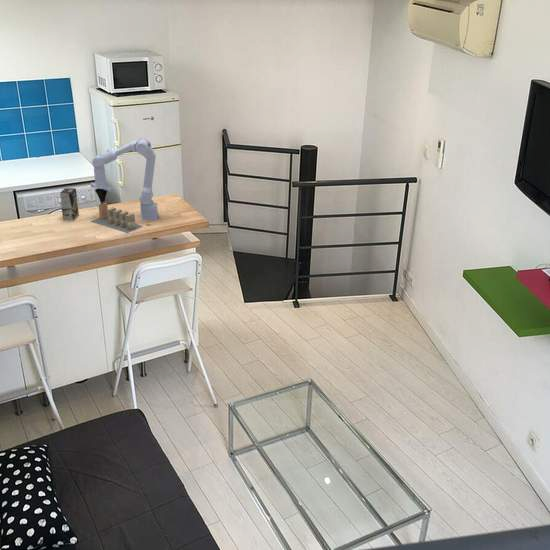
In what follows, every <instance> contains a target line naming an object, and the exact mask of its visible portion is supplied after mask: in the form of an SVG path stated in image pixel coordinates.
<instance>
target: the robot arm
mask: <svg viewBox="0 0 550 550" xmlns="http://www.w3.org/2000/svg"><path fill="white" fill-rule="evenodd" d="M130 152H132V153H137V154H139V155H141V156H143V157H144V159H146V161H145V162H146V163H145V170H144V171H145V172H144V177H143V178H144V179H143V185H142V186H143V188H142V191H141V194H140V197H139V204H140V218H139V220H140V221H158V218H159V210H158V202H154V200H153V199H152V198H153V196H154V193H153V182H154V181H153V180H154V173H155V164H156V158H157V157H156V156H157V155H156V153H155V151H154V149H153V147H152V143H151V142H150V141H149V140H148V139H146V138H145V137H144V138H143V137H142V138H141V137H140V138H139V139H135V140H133V141H131V142H129V143H127V144H125V145H123V146H120V147H119V148H118V149H106V151H105V152H103V153H99V154H96V155H95V156H94V157H93V158H92V161H91V163H92V166H93V172H94V182H90V187H91V188H94V189H95V190H94V192H95V194H96V195H97V197H98V199H99V202H100V203H106V196H107V194H108V192H109V193H110V192H112V191H113V190H112V189H113V188H112V187H111V186H109V185H108V184H107V178H106V169H105V165H107V164H110V163H112V162H114V161H117V159H118V157H119V156H121V155H124V154H125V153H126V154H127V153H130Z"/></svg>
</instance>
